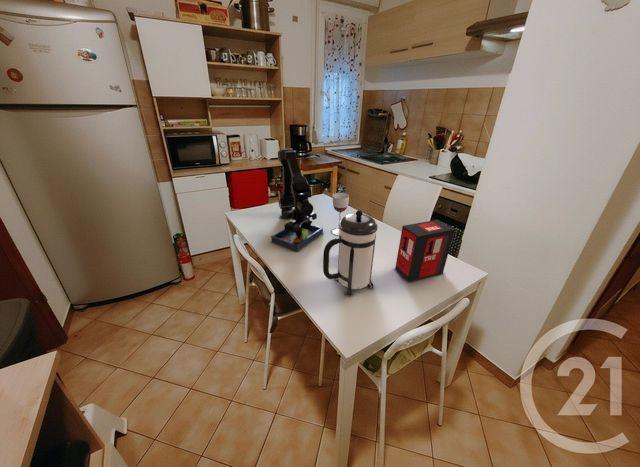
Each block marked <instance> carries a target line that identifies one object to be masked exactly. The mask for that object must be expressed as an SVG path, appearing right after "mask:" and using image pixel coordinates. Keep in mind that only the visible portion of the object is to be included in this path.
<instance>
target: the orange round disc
mask: <svg viewBox="0 0 640 467" xmlns="http://www.w3.org/2000/svg"><path fill="white" fill-rule="evenodd" d="M300 242H301V239H299V238H296V239H293V243H294V244H298V243H300Z"/></svg>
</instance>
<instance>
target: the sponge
mask: <svg viewBox="0 0 640 467" xmlns="http://www.w3.org/2000/svg"><path fill="white" fill-rule="evenodd" d="M307 237H308V230H307V229H304V228H303V230H302V234H301V238H300V239H301V241H303V240H304V239H306V238H307ZM295 238H298V237H297V235H296V233H295Z"/></svg>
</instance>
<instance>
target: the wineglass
mask: <svg viewBox="0 0 640 467" xmlns="http://www.w3.org/2000/svg"><path fill="white" fill-rule="evenodd" d="M349 201H350V194H348V193H346V192H336V193H333V194H332V206H333V209H334V210H335V211H336V212H338V214H339V215H338V224H339V223H340V221H341V220H342V213H344V212H345V211H346V210H347V209H348V206H349ZM331 233H332V234H333V235H335V236H339V233H340V228H339V227H338V228H335V229H333V230H332V231H331Z"/></svg>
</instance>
